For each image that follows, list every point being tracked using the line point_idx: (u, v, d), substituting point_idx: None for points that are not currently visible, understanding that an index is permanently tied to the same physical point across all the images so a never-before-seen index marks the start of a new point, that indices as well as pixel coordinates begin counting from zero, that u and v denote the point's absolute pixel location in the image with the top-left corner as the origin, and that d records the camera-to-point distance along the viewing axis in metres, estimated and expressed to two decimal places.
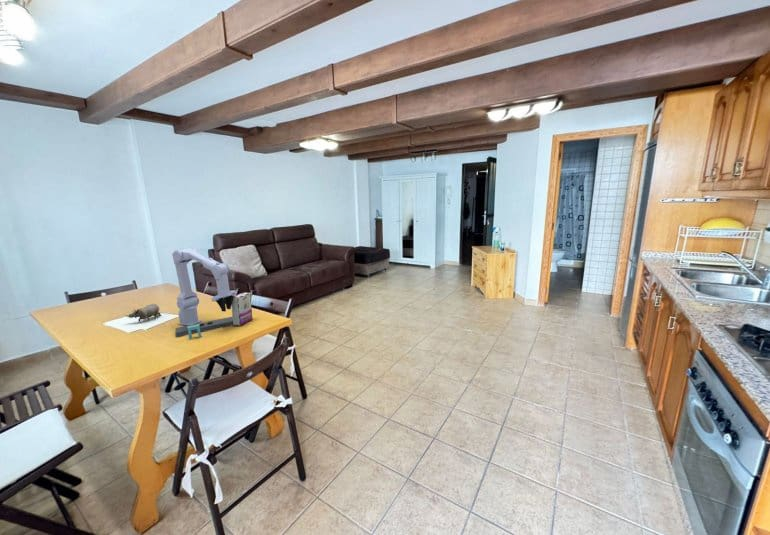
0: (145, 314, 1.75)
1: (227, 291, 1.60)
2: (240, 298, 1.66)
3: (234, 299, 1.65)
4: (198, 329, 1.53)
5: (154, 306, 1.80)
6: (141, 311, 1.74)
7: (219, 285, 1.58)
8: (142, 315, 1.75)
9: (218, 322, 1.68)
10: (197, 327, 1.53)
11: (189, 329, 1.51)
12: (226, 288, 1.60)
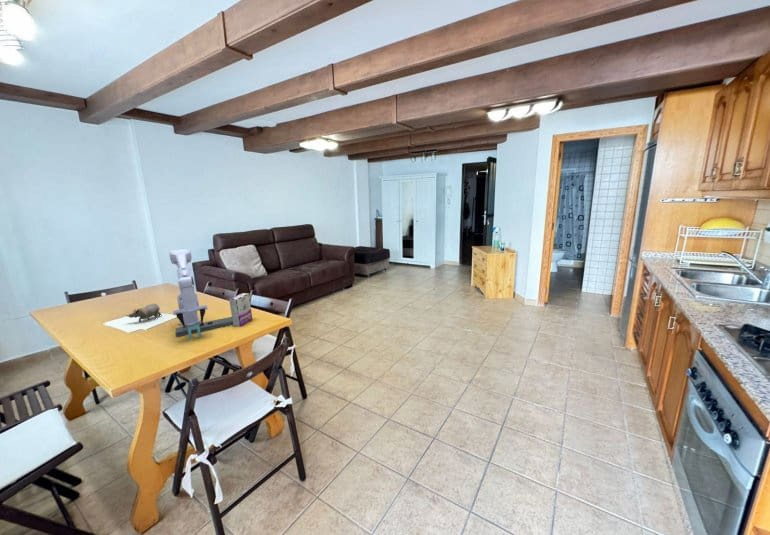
0: (145, 314, 1.76)
1: (189, 306, 1.48)
2: (238, 300, 1.65)
3: (233, 301, 1.64)
4: (198, 329, 1.53)
5: (154, 306, 1.81)
6: (141, 311, 1.74)
7: (182, 299, 1.48)
8: (142, 315, 1.75)
9: (218, 322, 1.68)
10: (197, 327, 1.53)
11: (189, 329, 1.51)
12: (188, 303, 1.48)
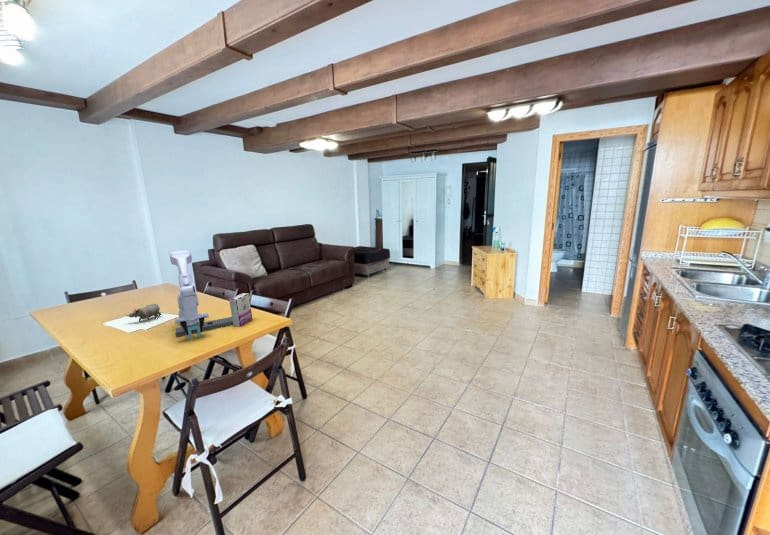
0: (145, 314, 1.76)
1: (191, 315, 1.49)
2: (238, 300, 1.65)
3: (233, 301, 1.64)
4: (198, 329, 1.53)
5: (154, 306, 1.81)
6: (141, 311, 1.75)
7: (183, 307, 1.49)
8: (142, 315, 1.75)
9: (218, 322, 1.68)
10: (197, 327, 1.53)
11: (189, 329, 1.51)
12: (189, 312, 1.49)
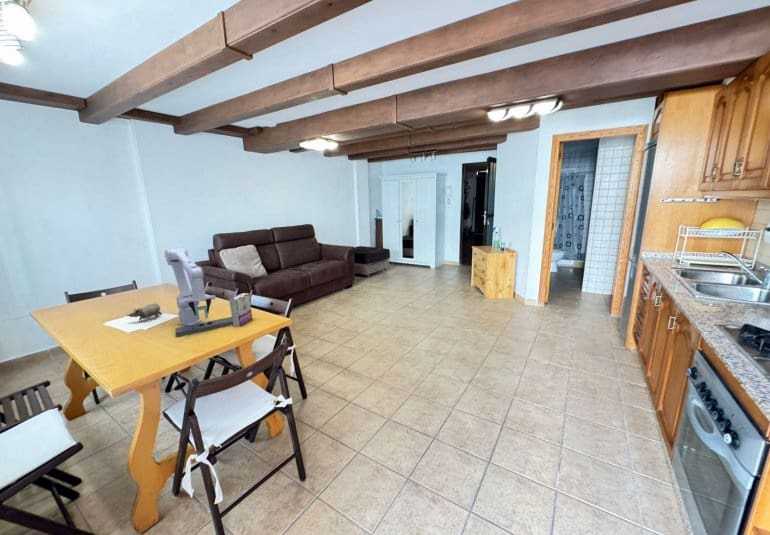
0: (145, 314, 1.76)
1: (198, 296, 1.57)
2: (238, 300, 1.65)
3: (233, 301, 1.64)
4: (205, 310, 1.62)
5: (154, 306, 1.81)
6: (141, 311, 1.75)
7: (192, 289, 1.56)
8: (142, 314, 1.76)
9: (218, 322, 1.68)
10: (204, 308, 1.61)
11: (197, 309, 1.59)
12: (197, 293, 1.57)
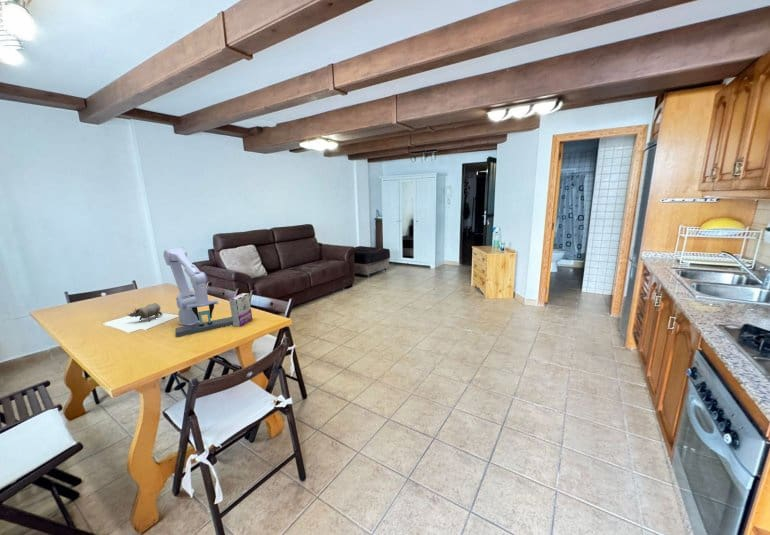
0: (145, 313, 1.76)
1: (202, 301, 1.60)
2: (238, 300, 1.65)
3: (233, 301, 1.64)
4: (208, 315, 1.64)
5: (155, 306, 1.81)
6: (141, 310, 1.75)
7: (196, 294, 1.59)
8: (142, 314, 1.76)
9: (218, 322, 1.68)
10: (207, 313, 1.64)
11: (200, 314, 1.62)
12: (200, 298, 1.60)
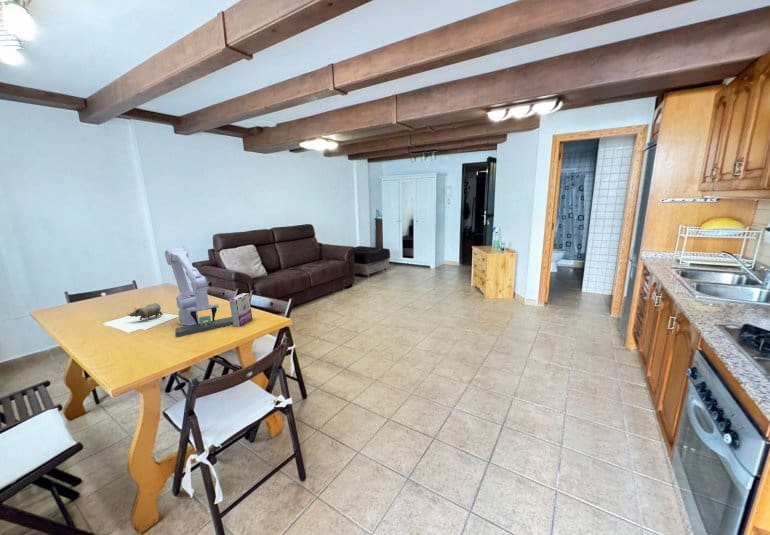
0: (145, 313, 1.77)
1: (202, 305, 1.61)
2: (238, 300, 1.65)
3: (233, 301, 1.64)
4: (209, 320, 1.65)
5: (155, 305, 1.81)
6: (141, 310, 1.75)
7: (197, 298, 1.60)
8: (142, 314, 1.76)
9: (218, 322, 1.68)
10: (208, 318, 1.65)
11: (201, 320, 1.63)
12: (201, 302, 1.60)
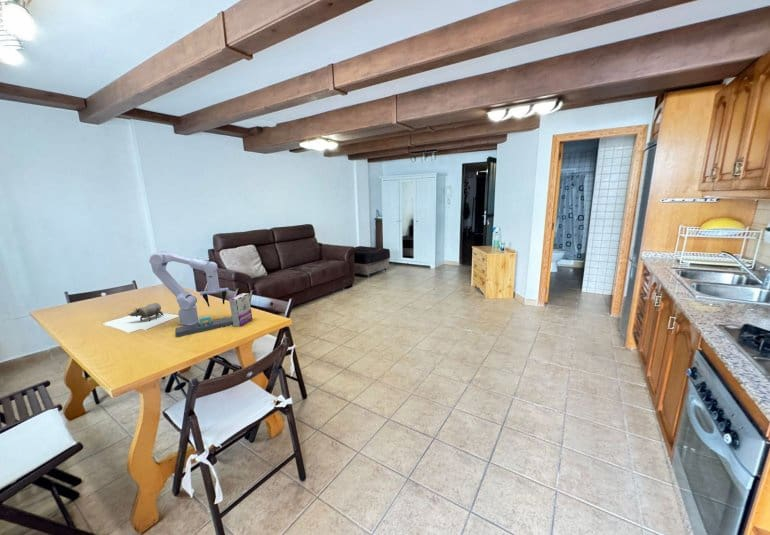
0: (145, 313, 1.77)
1: (213, 288, 1.71)
2: (238, 300, 1.65)
3: (233, 301, 1.64)
4: (209, 320, 1.65)
5: (155, 305, 1.82)
6: (142, 310, 1.76)
7: (212, 281, 1.71)
8: (143, 314, 1.76)
9: (218, 322, 1.68)
10: (208, 318, 1.65)
11: (201, 320, 1.63)
12: (212, 285, 1.71)
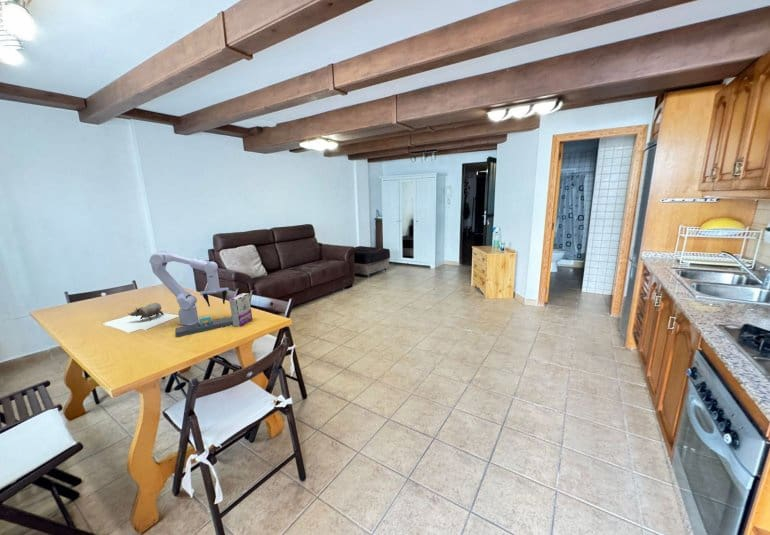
0: (146, 313, 1.77)
1: (214, 288, 1.72)
2: (238, 300, 1.65)
3: (233, 301, 1.64)
4: (209, 320, 1.65)
5: (155, 305, 1.82)
6: (142, 310, 1.76)
7: (213, 281, 1.71)
8: (143, 314, 1.77)
9: (218, 322, 1.68)
10: (208, 318, 1.65)
11: (201, 320, 1.63)
12: (213, 285, 1.71)
